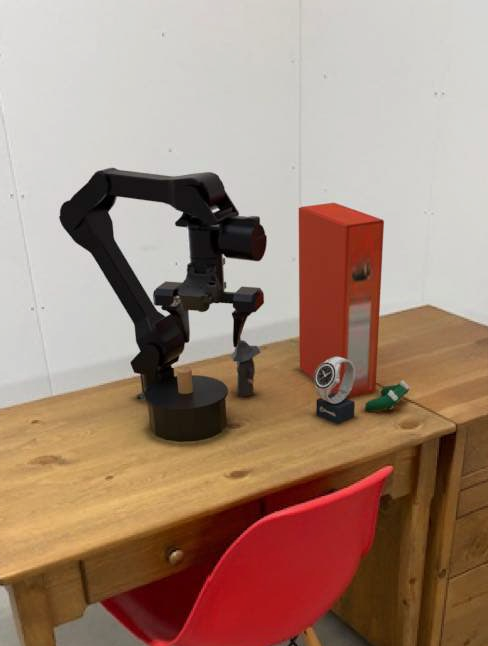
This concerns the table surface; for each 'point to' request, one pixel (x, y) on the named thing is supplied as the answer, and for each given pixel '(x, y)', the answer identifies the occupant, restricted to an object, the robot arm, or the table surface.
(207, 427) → the pot
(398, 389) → the green toy shoe
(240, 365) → the wizard figurine
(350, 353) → the file binder
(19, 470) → the table surface
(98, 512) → the table surface
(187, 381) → the lid
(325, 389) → the watch
